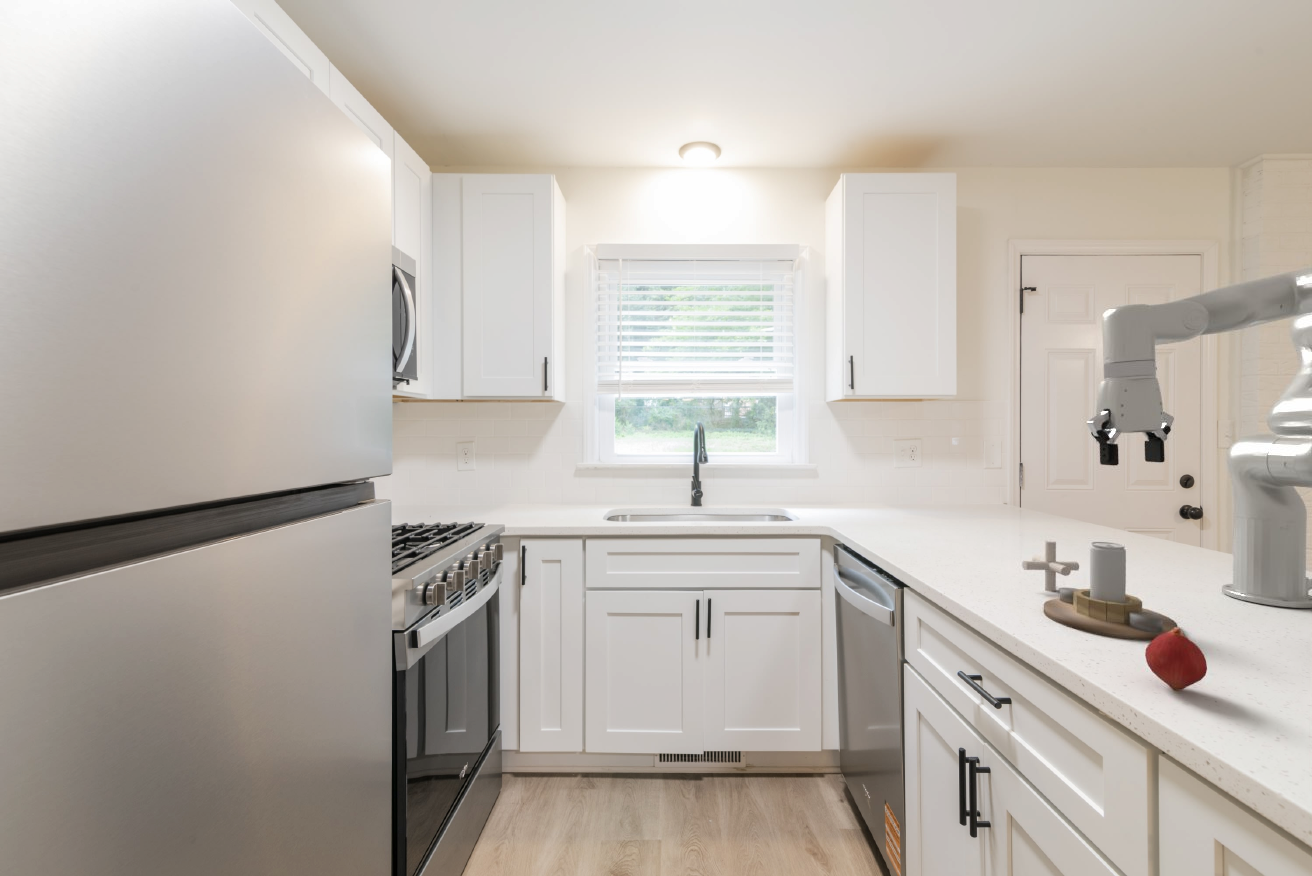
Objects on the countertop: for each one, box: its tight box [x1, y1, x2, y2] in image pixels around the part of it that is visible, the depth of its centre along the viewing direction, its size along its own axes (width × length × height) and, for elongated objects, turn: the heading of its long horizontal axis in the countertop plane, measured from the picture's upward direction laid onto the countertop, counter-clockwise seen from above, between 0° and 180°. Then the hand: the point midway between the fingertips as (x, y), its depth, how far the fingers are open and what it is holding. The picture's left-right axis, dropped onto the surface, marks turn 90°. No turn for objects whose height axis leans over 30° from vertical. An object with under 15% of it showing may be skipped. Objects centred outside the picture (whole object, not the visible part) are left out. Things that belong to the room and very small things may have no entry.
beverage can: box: [1089, 541, 1127, 603], centre depth 98 cm, size 5×5×12 cm
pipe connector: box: [1021, 540, 1080, 592], centre depth 116 cm, size 10×10×10 cm
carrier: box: [1043, 587, 1178, 641], centre depth 98 cm, size 18×18×4 cm
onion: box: [1144, 627, 1208, 691], centre depth 72 cm, size 6×6×8 cm
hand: (1132, 463), depth 106 cm, fingers open, 9 cm apart
